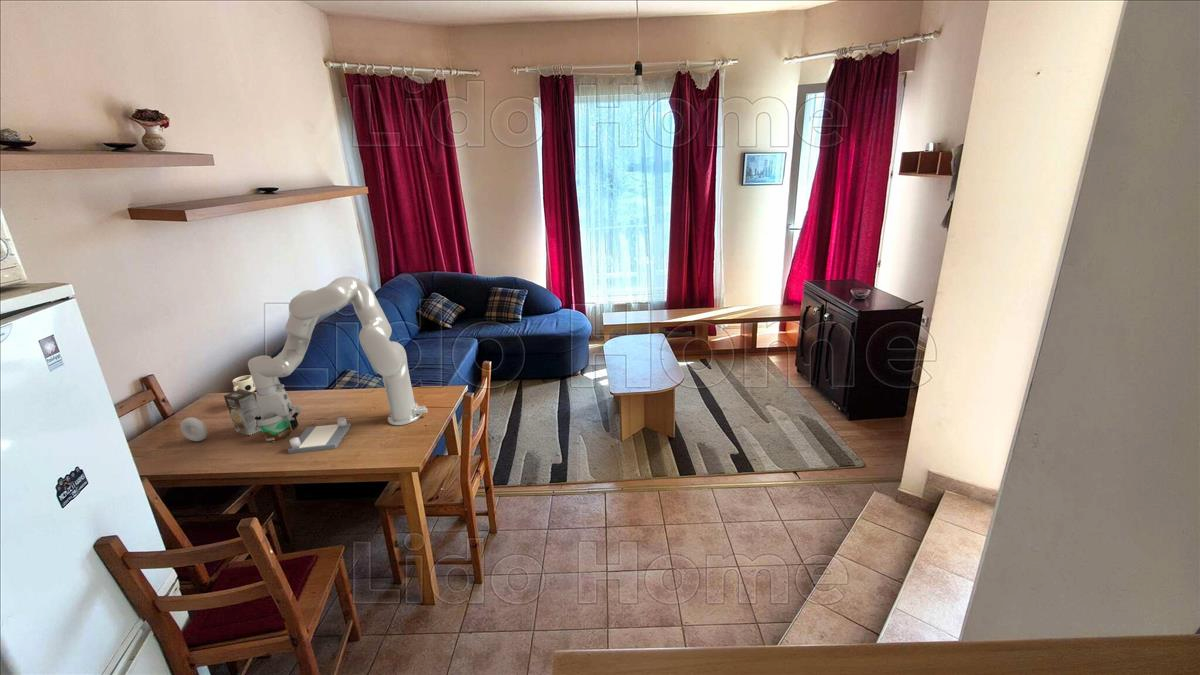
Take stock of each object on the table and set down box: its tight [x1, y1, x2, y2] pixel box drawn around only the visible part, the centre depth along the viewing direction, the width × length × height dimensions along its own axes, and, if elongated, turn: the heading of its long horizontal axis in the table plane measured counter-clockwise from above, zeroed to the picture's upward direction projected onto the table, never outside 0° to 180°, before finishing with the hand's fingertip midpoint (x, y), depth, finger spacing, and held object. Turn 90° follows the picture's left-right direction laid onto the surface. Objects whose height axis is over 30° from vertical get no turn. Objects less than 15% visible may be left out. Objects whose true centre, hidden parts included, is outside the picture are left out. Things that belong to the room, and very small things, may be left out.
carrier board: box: [287, 416, 352, 455], centre depth 184 cm, size 16×16×4 cm
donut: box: [180, 416, 208, 442], centre depth 187 cm, size 10×4×10 cm, turn 79°
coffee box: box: [223, 389, 262, 436], centre depth 192 cm, size 9×6×16 cm
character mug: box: [232, 374, 257, 403], centre depth 213 cm, size 11×7×13 cm, turn 175°
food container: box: [257, 415, 293, 443], centre depth 187 cm, size 12×6×10 cm, turn 168°
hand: (281, 429), depth 187 cm, fingers open, 9 cm apart
